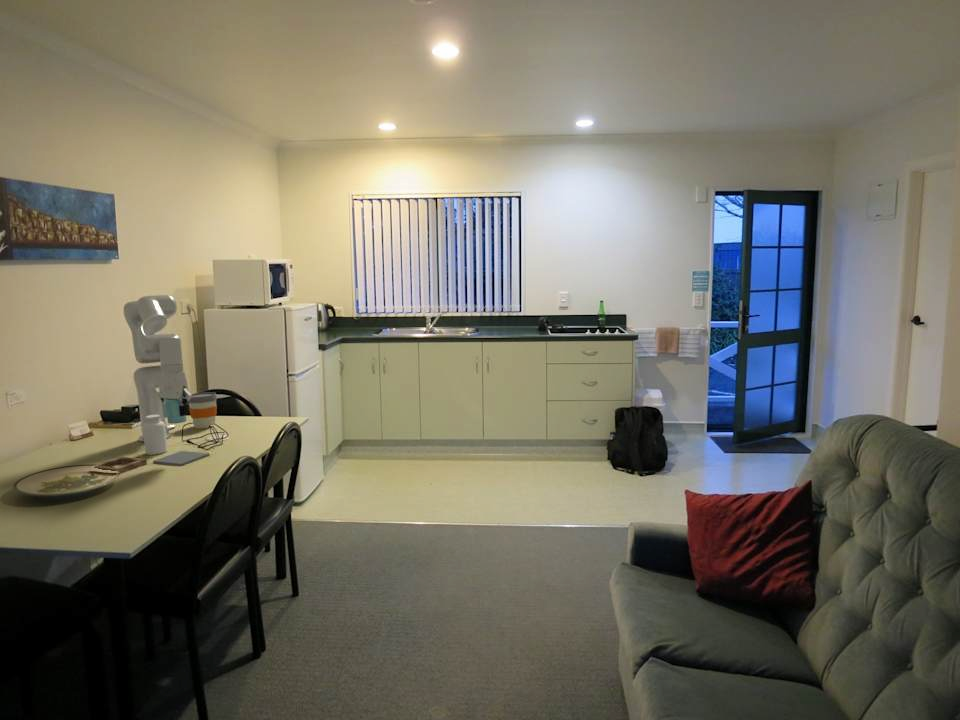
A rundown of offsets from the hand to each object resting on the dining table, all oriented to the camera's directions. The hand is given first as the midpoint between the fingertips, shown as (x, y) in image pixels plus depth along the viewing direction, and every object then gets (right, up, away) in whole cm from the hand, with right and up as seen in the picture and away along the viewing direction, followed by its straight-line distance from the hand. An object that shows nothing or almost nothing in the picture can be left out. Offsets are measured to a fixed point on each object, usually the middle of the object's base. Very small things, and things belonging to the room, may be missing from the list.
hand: (176, 414), depth 246 cm
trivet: (+1, -17, +3) cm, 18 cm away
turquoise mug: (0, -3, -1) cm, 3 cm away
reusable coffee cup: (-13, -10, +56) cm, 59 cm away
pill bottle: (-14, -16, +13) cm, 26 cm away
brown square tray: (-18, -19, -6) cm, 27 cm away
